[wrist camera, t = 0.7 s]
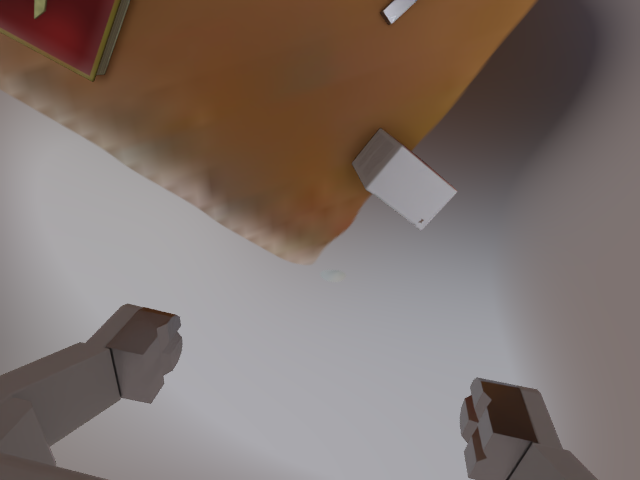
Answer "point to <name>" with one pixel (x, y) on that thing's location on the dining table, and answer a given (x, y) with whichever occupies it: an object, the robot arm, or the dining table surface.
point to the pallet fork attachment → (396, 10)
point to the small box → (402, 179)
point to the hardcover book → (66, 30)
